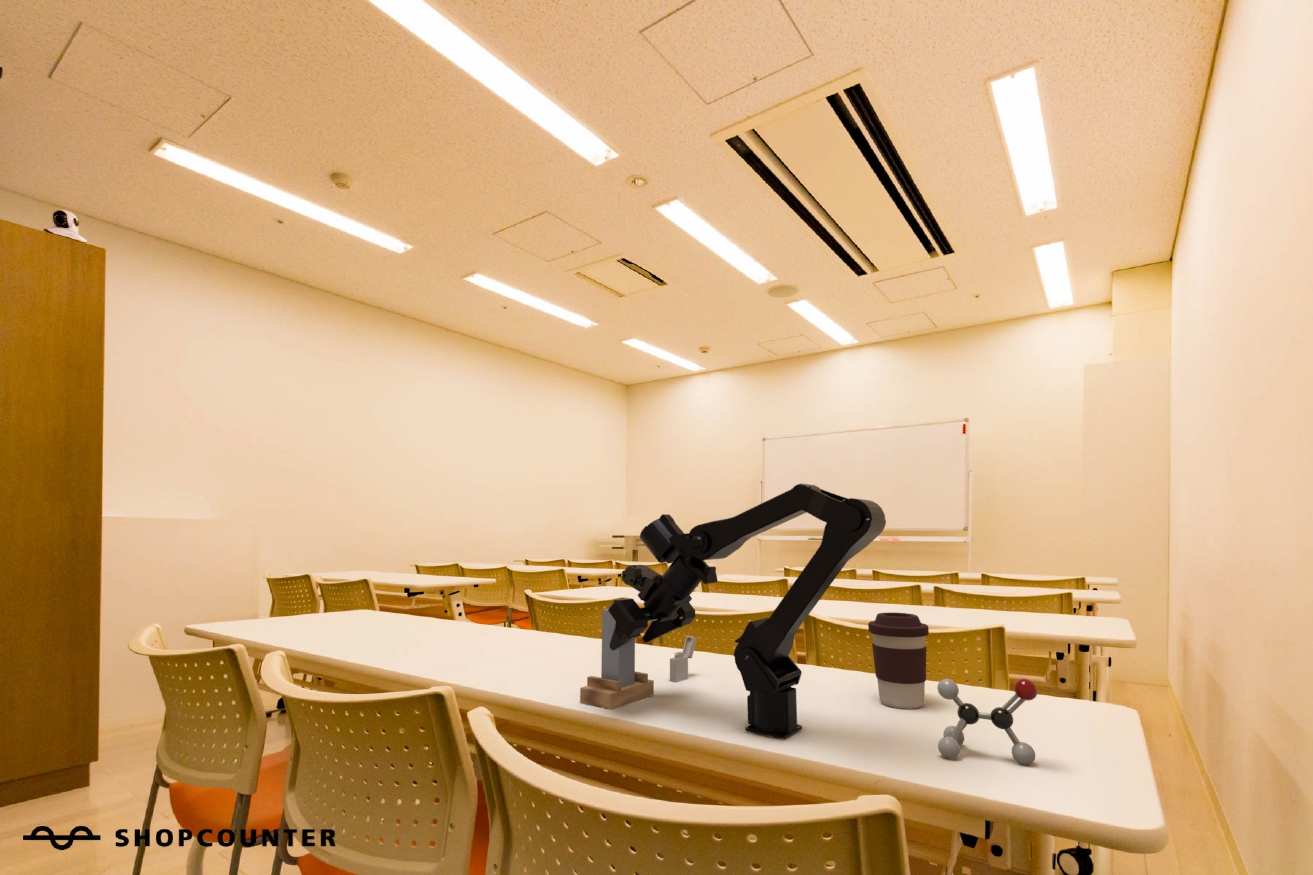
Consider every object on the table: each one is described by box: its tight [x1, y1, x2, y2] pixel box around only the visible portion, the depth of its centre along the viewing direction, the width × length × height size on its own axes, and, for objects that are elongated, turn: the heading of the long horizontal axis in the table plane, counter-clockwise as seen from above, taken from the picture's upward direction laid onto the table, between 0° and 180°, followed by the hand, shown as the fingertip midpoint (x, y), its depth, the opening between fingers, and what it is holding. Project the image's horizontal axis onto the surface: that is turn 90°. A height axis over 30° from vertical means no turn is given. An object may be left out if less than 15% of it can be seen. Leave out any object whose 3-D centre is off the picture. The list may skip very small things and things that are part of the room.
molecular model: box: [937, 678, 1039, 766], centre depth 85 cm, size 8×12×11 cm
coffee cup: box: [867, 612, 930, 710], centre depth 111 cm, size 10×10×15 cm
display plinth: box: [579, 671, 655, 710], centre depth 113 cm, size 7×12×4 cm, turn 143°
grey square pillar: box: [600, 608, 636, 687], centre depth 114 cm, size 4×4×13 cm
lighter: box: [669, 635, 697, 683], centre depth 129 cm, size 7×2×8 cm, turn 141°
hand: (628, 644), depth 113 cm, fingers open, 9 cm apart
